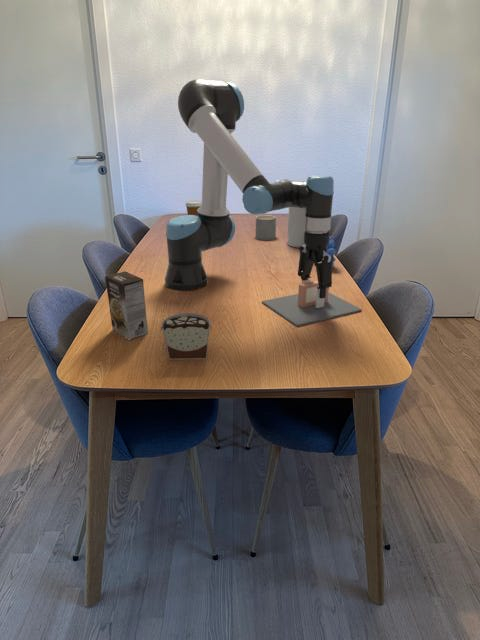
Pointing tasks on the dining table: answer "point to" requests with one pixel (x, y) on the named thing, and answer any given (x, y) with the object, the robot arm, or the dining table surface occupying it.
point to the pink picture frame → (309, 294)
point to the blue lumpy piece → (331, 249)
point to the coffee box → (127, 304)
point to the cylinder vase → (296, 227)
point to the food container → (186, 336)
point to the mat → (310, 309)
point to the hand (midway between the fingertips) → (312, 302)
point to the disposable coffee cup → (193, 207)
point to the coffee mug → (265, 227)
